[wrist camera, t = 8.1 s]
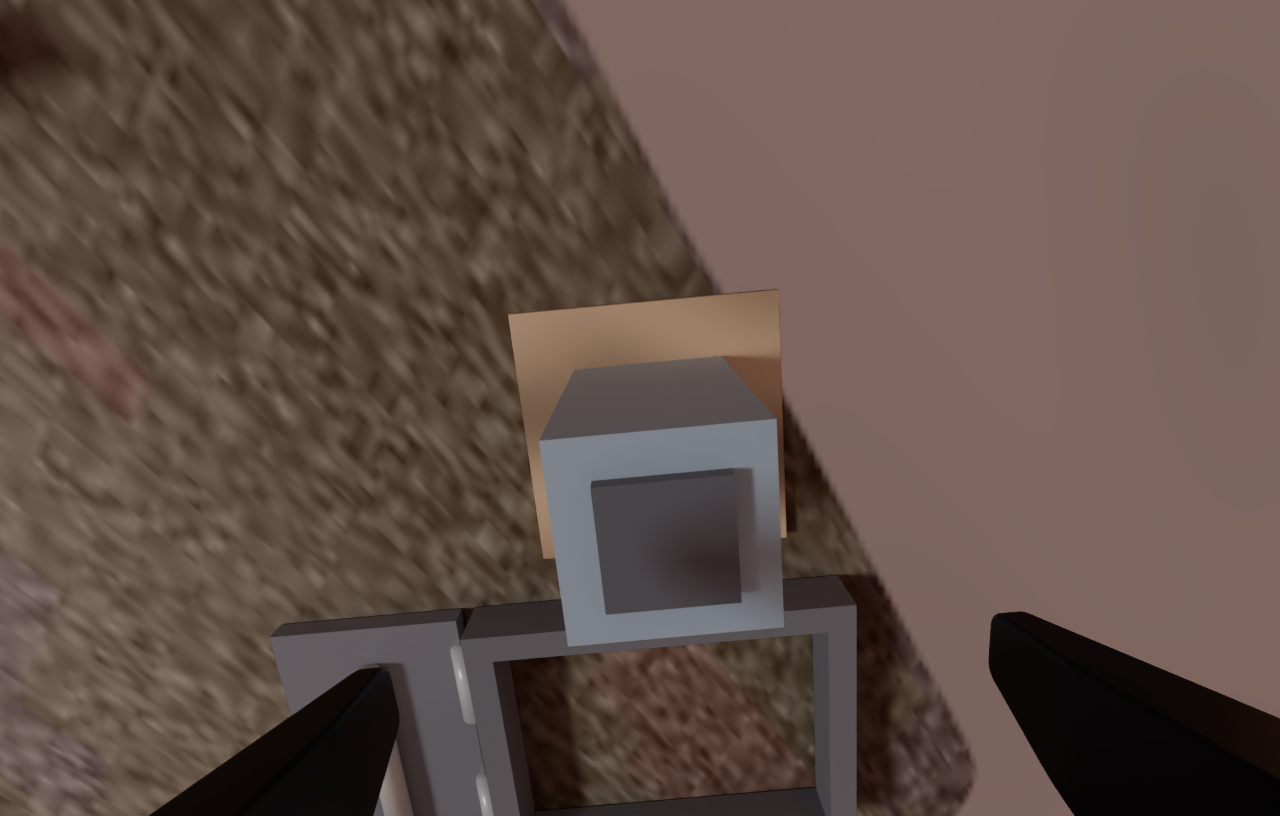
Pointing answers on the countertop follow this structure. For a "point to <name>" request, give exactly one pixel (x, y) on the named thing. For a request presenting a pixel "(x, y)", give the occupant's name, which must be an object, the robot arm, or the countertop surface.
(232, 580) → the countertop surface
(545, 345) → the pad
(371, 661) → the case
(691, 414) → the block
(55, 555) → the countertop surface
